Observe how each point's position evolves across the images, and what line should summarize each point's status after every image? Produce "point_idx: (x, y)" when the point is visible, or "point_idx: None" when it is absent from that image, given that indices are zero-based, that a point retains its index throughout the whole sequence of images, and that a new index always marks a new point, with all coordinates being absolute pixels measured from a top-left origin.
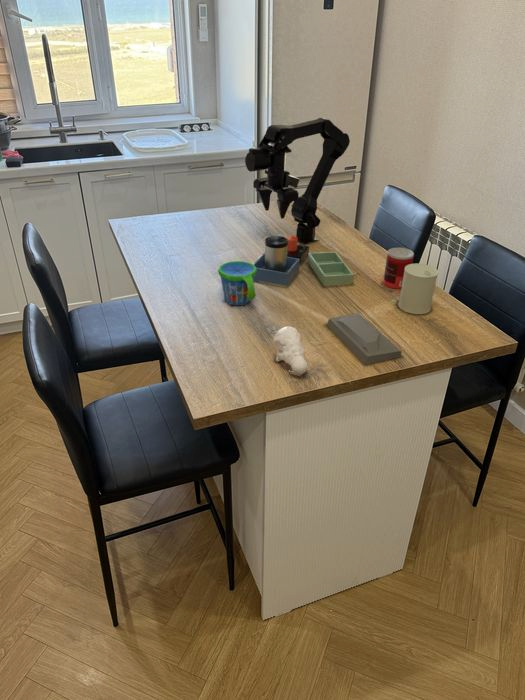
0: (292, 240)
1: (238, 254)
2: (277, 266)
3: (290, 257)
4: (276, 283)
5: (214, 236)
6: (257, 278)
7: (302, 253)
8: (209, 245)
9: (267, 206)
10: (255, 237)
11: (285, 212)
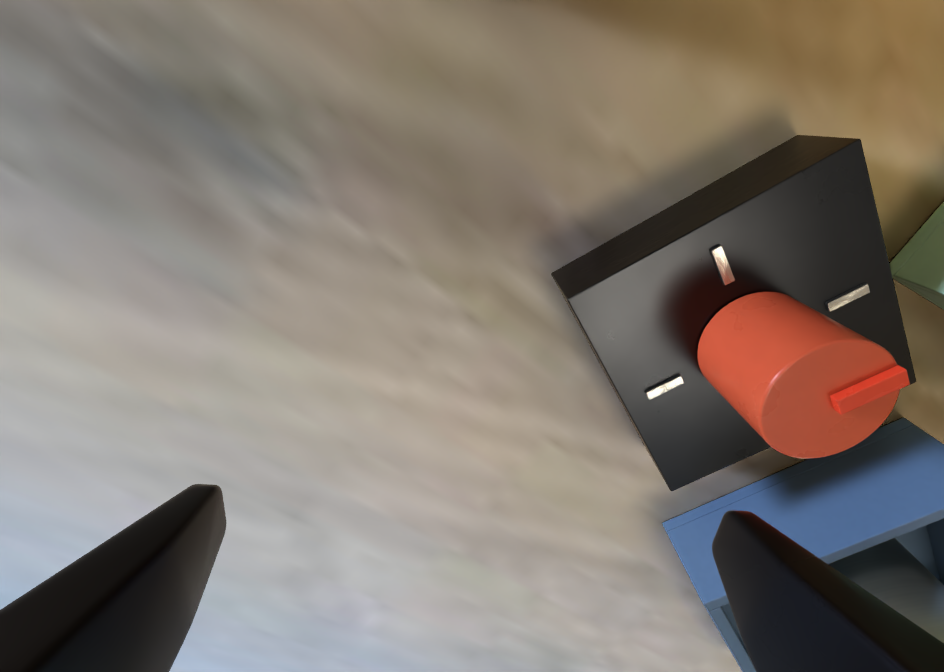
0: (870, 431)
1: (419, 542)
2: None
3: (921, 520)
4: None
5: (30, 509)
6: None
7: (888, 320)
8: None
9: (184, 580)
10: (172, 274)
11: (872, 617)
